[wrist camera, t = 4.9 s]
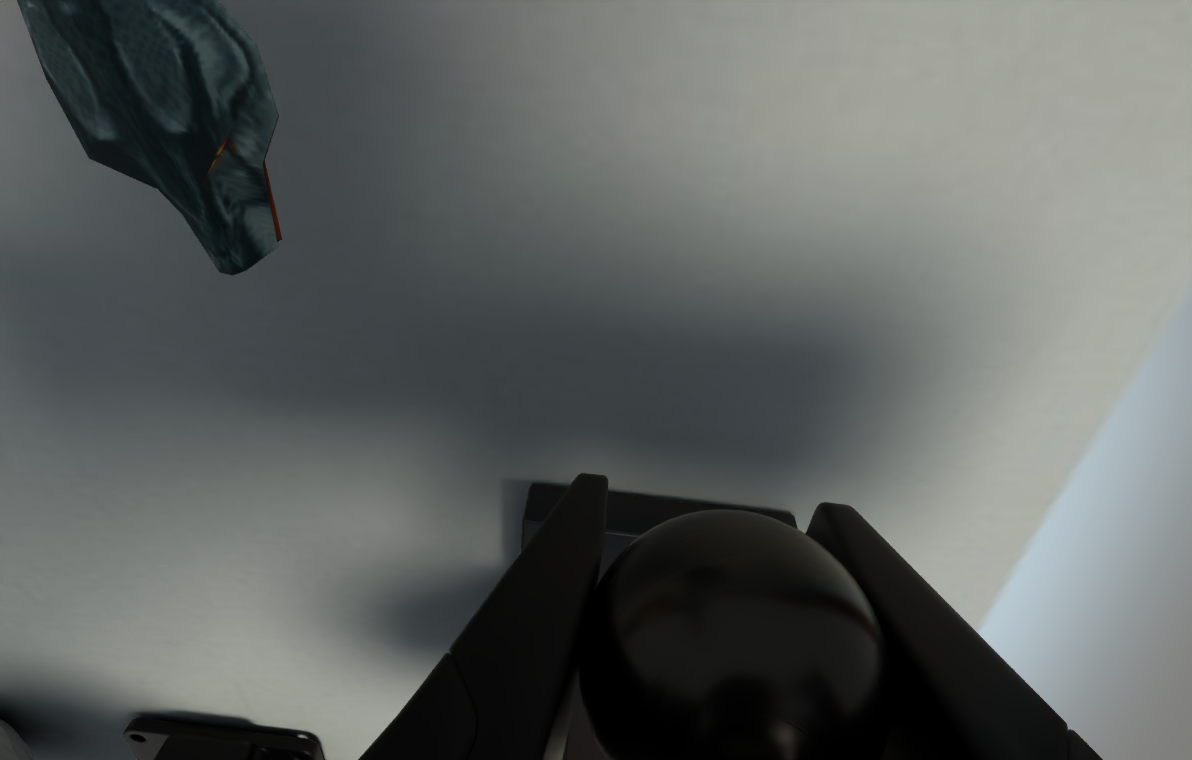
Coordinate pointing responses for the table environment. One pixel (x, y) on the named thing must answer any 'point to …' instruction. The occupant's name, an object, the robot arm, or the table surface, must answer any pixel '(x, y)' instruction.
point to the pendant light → (12, 744)
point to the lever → (733, 648)
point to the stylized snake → (169, 109)
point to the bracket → (621, 529)
